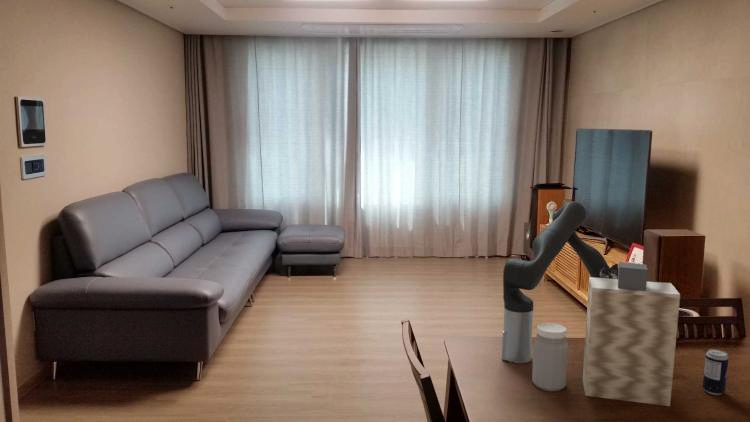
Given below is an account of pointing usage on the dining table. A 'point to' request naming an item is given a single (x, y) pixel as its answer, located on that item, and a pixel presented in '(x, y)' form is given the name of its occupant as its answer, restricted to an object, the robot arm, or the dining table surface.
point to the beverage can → (715, 371)
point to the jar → (550, 357)
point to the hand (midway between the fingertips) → (628, 267)
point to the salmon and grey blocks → (632, 276)
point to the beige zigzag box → (630, 341)
